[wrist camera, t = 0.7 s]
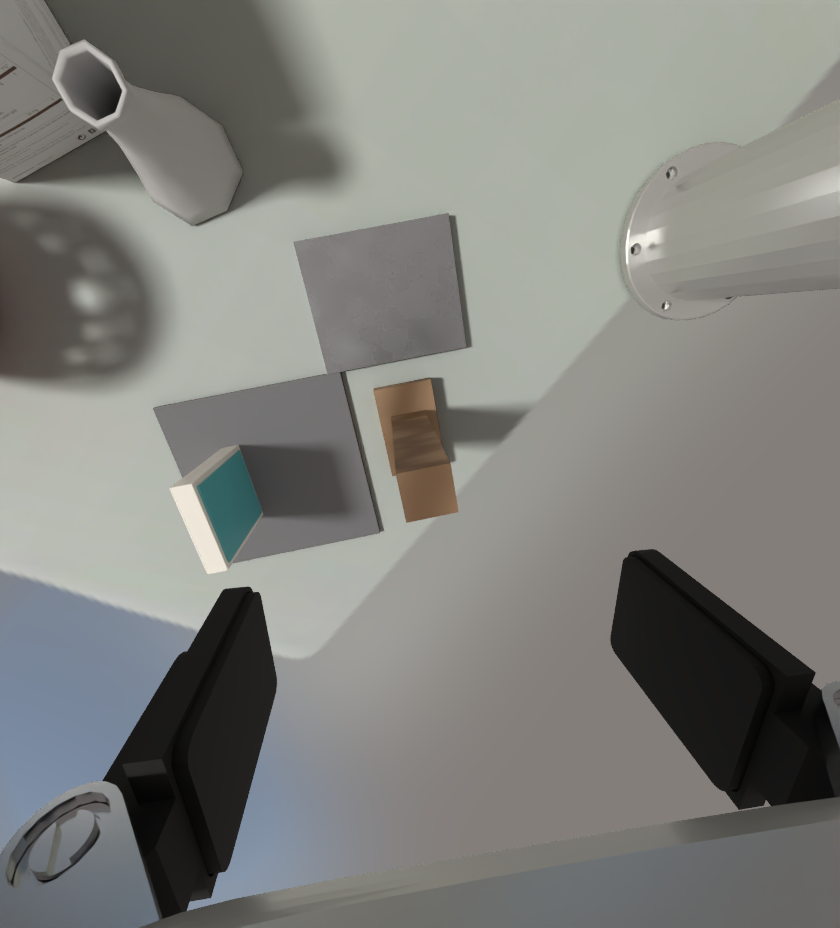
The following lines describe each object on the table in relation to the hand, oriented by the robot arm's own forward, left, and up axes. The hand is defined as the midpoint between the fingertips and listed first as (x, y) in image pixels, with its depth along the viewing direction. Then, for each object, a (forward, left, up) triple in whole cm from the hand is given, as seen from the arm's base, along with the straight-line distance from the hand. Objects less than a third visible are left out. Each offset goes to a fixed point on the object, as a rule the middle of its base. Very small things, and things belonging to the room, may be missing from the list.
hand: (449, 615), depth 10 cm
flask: (+12, -20, -27) cm, 36 cm away
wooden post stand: (0, +2, -27) cm, 27 cm away
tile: (+16, +4, -26) cm, 31 cm away
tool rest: (0, -9, -27) cm, 28 cm away
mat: (+13, +4, -27) cm, 30 cm away
